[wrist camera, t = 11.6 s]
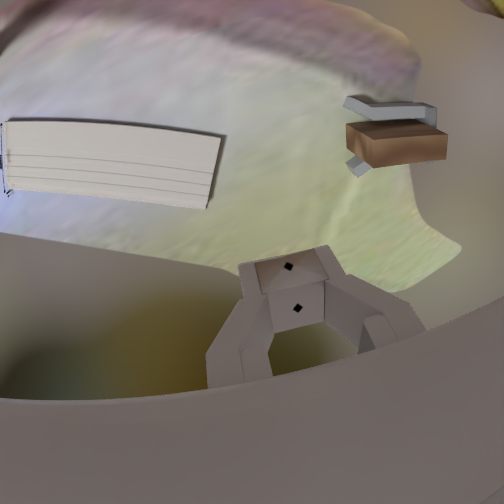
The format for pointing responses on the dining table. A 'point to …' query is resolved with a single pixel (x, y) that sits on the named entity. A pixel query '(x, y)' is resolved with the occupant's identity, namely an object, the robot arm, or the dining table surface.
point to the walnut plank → (396, 142)
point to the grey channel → (385, 112)
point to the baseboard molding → (110, 161)
